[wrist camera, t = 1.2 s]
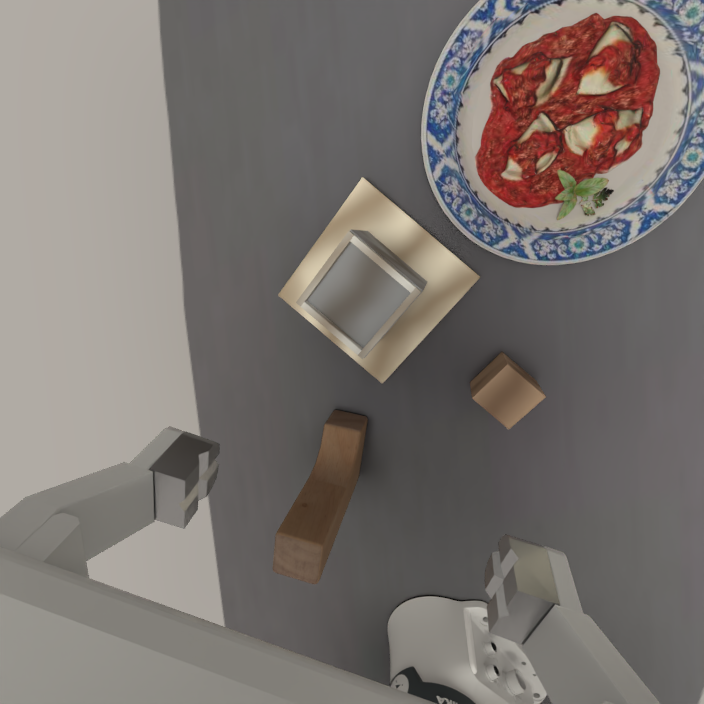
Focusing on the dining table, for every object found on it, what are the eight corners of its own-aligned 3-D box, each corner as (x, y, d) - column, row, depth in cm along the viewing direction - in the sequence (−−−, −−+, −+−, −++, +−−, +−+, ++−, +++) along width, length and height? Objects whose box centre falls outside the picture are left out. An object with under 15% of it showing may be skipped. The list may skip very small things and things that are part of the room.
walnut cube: (536, 380, 46) (545, 396, 41) (502, 410, 47) (508, 429, 43) (501, 351, 46) (507, 364, 41) (469, 382, 47) (472, 398, 43)
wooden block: (334, 408, 52) (278, 490, 35) (368, 415, 51) (328, 503, 34) (326, 469, 55) (270, 573, 38) (359, 477, 54) (317, 587, 37)
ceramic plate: (419, -7, 39) (416, -26, 36) (745, -75, 33) (772, -104, 30) (425, 270, 45) (423, 272, 43) (698, 256, 39) (717, 257, 36)
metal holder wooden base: (479, 275, 44) (487, 286, 34) (384, 379, 49) (368, 414, 40) (365, 179, 44) (341, 162, 34) (283, 293, 49) (242, 306, 40)
